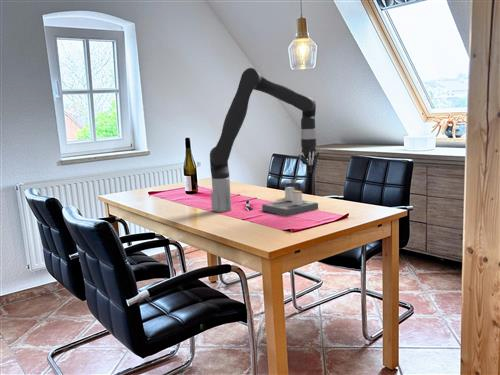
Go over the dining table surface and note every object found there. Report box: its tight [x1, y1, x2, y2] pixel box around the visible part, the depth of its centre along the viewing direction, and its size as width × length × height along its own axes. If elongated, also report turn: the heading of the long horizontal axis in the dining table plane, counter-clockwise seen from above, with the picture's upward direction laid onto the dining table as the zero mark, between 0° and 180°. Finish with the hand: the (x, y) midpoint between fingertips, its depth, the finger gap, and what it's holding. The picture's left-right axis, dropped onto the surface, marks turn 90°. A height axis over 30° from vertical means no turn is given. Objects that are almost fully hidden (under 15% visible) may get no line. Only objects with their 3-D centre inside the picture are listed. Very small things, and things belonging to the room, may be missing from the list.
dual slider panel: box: [261, 199, 319, 217], centre depth 246 cm, size 21×19×3 cm
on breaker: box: [284, 187, 294, 201], centre depth 252 cm, size 3×4×7 cm
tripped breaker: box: [292, 190, 303, 205], centre depth 240 cm, size 3×4×7 cm
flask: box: [284, 179, 301, 191], centre depth 275 cm, size 9×3×11 cm, turn 65°
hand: (309, 172), depth 244 cm, fingers closed
